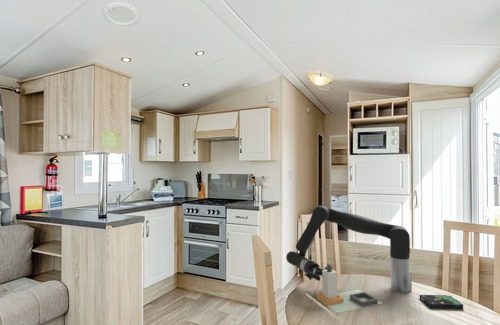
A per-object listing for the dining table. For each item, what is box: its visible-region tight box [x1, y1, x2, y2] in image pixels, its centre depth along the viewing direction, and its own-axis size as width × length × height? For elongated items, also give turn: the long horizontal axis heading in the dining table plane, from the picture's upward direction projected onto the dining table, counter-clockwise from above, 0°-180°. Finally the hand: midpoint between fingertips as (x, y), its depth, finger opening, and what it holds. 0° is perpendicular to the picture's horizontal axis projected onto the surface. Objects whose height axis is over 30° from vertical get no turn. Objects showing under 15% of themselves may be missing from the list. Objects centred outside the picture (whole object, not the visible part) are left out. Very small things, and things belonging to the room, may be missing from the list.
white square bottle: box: [321, 263, 338, 300], centre depth 145 cm, size 5×5×17 cm
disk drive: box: [419, 294, 464, 311], centre depth 141 cm, size 10×3×15 cm
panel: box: [315, 288, 383, 315], centre depth 144 cm, size 26×17×3 cm, turn 110°
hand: (327, 277), depth 147 cm, fingers open, 8 cm apart
